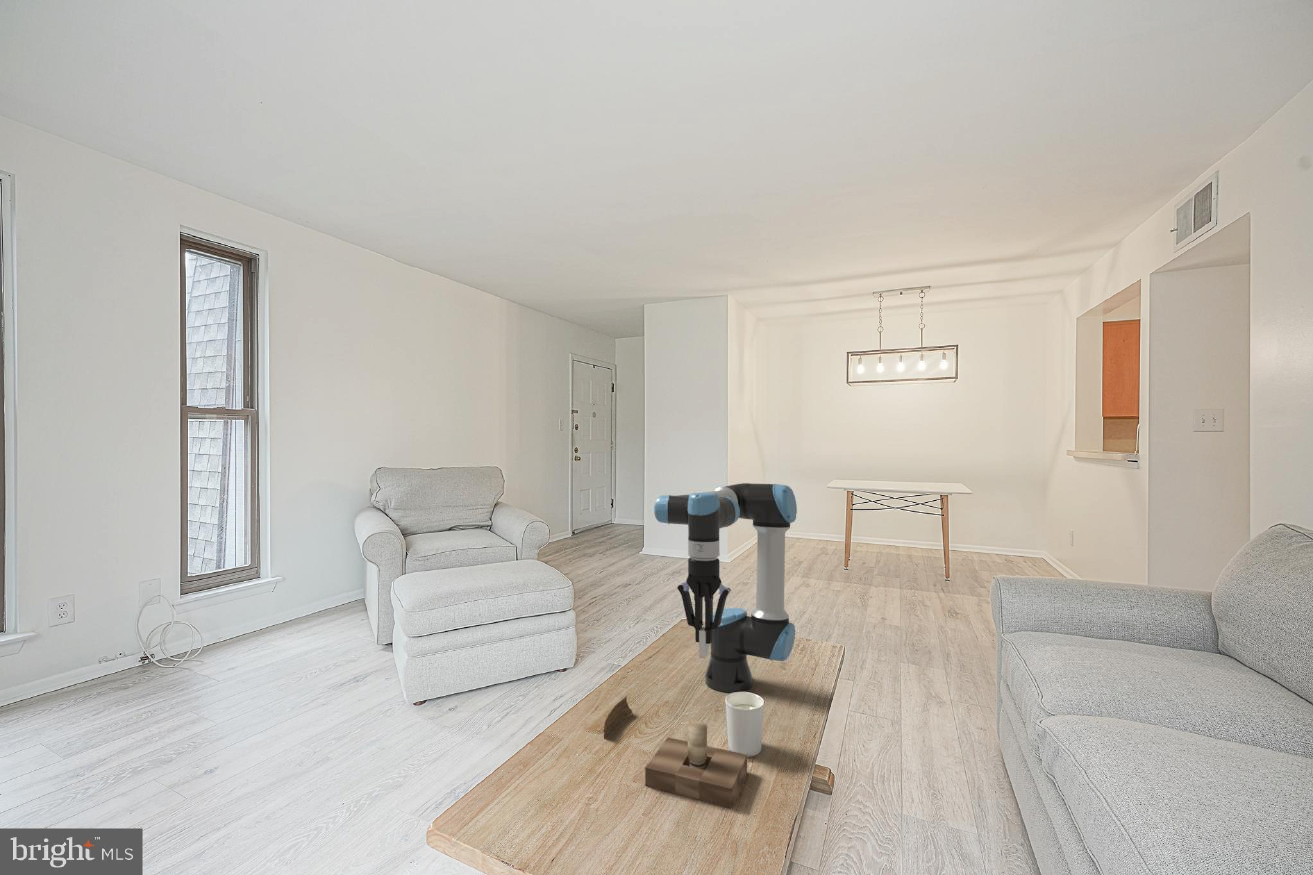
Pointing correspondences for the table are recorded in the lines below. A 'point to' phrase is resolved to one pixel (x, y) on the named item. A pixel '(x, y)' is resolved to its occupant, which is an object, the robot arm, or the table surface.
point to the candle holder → (744, 722)
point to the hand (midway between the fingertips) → (703, 656)
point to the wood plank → (616, 715)
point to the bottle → (697, 744)
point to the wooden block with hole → (697, 773)
